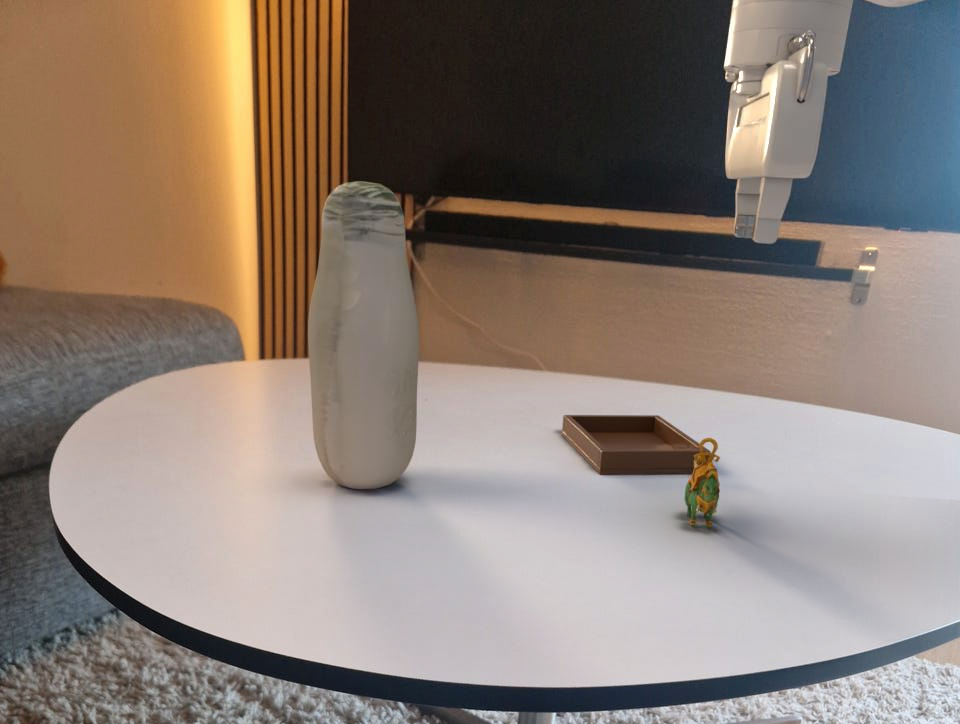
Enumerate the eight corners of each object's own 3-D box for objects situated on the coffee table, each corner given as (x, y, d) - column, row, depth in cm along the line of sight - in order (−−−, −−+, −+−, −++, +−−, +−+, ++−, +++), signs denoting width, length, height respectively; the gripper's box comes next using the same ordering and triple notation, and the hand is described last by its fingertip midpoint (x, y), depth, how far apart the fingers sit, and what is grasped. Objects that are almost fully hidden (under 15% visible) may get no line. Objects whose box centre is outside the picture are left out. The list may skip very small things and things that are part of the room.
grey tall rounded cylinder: (393, 506, 89) (393, 182, 77) (298, 492, 92) (283, 177, 80) (430, 479, 98) (435, 184, 85) (341, 467, 100) (334, 180, 88)
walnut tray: (707, 473, 104) (710, 451, 103) (599, 474, 102) (601, 451, 101) (656, 435, 120) (658, 415, 119) (561, 435, 118) (563, 414, 117)
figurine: (686, 543, 83) (699, 454, 79) (675, 503, 94) (687, 423, 90) (721, 546, 83) (735, 456, 79) (706, 505, 94) (719, 425, 90)
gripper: (863, 27, 62) (820, 249, 68) (798, 64, 81) (768, 236, 87) (768, 23, 63) (734, 244, 69) (724, 60, 81) (700, 233, 87)
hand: (753, 240), depth 78 cm, fingers open, 8 cm apart
